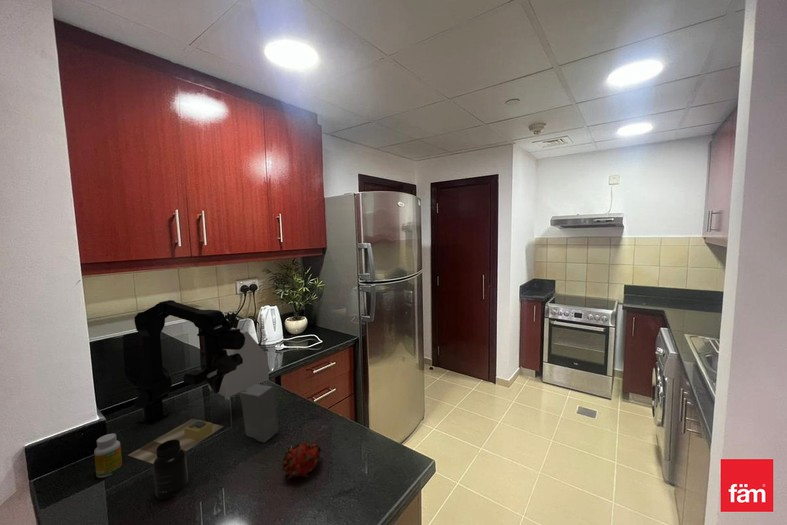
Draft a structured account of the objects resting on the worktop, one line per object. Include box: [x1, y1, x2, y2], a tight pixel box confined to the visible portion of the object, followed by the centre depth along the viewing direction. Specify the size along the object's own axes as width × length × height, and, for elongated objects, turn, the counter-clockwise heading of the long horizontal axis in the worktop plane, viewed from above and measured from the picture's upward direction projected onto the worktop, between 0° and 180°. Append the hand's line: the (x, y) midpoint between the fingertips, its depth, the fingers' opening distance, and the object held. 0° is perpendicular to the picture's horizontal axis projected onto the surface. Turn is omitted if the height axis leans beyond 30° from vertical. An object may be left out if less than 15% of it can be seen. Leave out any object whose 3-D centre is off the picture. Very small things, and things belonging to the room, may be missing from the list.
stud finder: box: [184, 419, 213, 441], centre depth 101 cm, size 6×5×4 cm
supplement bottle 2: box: [152, 439, 189, 501], centre depth 79 cm, size 7×7×12 cm
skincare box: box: [239, 384, 280, 444], centre depth 100 cm, size 8×7×16 cm
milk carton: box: [207, 327, 270, 399], centre depth 139 cm, size 19×15×25 cm
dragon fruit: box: [281, 441, 322, 479], centre depth 84 cm, size 8×8×12 cm
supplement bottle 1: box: [93, 433, 123, 479], centre depth 86 cm, size 5×5×10 cm
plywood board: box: [127, 418, 224, 465], centre depth 98 cm, size 21×20×1 cm
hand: (216, 392), depth 107 cm, fingers closed
